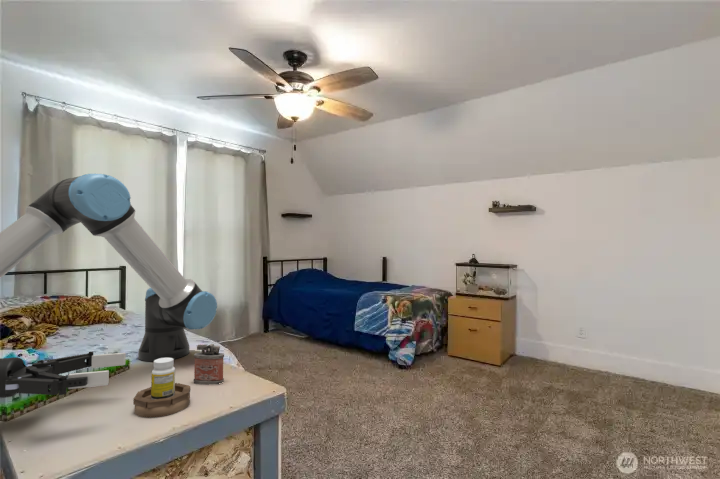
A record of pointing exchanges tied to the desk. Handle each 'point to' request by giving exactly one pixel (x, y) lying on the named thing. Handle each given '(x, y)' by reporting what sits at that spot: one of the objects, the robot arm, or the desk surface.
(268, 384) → the desk surface
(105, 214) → the robot arm
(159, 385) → the supplement bottle
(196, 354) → the lighter
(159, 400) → the coaster stand
